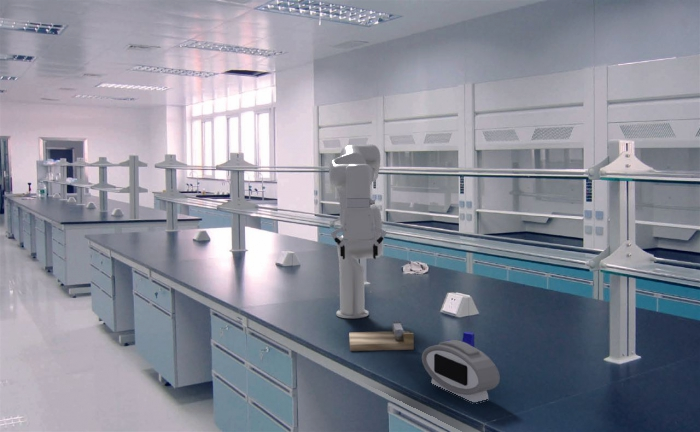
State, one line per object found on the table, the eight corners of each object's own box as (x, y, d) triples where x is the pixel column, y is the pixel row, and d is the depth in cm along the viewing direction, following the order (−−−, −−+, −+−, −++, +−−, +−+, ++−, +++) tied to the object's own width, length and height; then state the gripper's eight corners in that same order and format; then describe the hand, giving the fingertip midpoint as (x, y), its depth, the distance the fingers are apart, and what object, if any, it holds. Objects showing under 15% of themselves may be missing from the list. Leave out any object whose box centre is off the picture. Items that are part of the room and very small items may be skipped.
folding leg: (405, 341, 195) (405, 331, 195) (395, 341, 195) (395, 332, 195) (401, 330, 208) (401, 321, 208) (391, 330, 208) (391, 321, 208)
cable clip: (459, 363, 181) (459, 343, 180) (445, 360, 184) (445, 340, 183) (478, 353, 190) (478, 334, 189) (465, 350, 193) (465, 331, 192)
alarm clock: (421, 380, 166) (421, 334, 165) (439, 376, 169) (439, 331, 168) (480, 409, 146) (480, 357, 145) (499, 404, 150) (500, 352, 149)
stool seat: (349, 338, 208) (349, 323, 207) (408, 337, 208) (408, 322, 208) (350, 350, 194) (350, 335, 193) (413, 349, 194) (413, 333, 194)
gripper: (385, 203, 196) (385, 256, 198) (330, 203, 196) (331, 257, 197) (386, 204, 189) (387, 259, 190) (330, 205, 189) (331, 260, 190)
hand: (359, 258), depth 194 cm, fingers open, 9 cm apart
